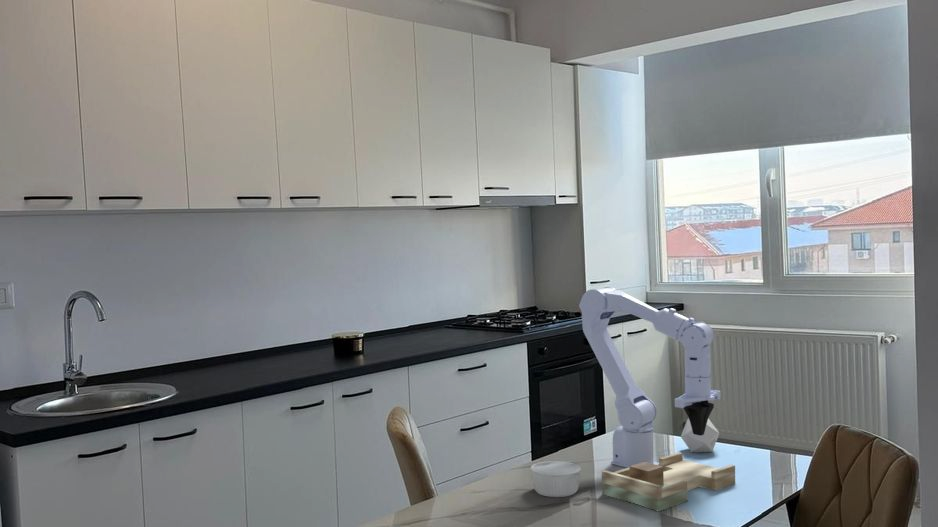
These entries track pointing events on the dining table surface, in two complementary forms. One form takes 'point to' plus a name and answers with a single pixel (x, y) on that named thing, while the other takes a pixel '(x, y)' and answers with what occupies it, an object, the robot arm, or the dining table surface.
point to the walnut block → (648, 473)
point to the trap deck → (666, 482)
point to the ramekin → (555, 478)
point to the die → (700, 438)
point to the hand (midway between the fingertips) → (698, 434)
